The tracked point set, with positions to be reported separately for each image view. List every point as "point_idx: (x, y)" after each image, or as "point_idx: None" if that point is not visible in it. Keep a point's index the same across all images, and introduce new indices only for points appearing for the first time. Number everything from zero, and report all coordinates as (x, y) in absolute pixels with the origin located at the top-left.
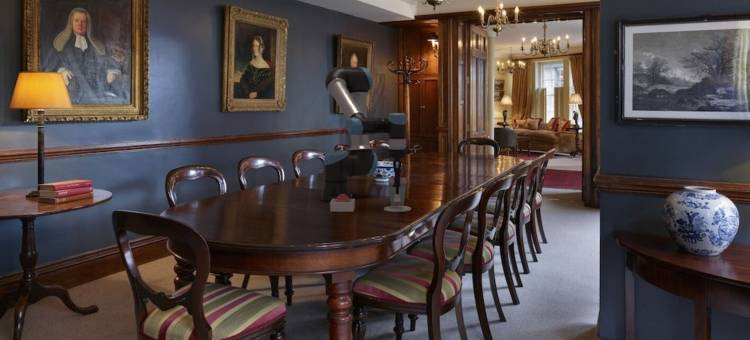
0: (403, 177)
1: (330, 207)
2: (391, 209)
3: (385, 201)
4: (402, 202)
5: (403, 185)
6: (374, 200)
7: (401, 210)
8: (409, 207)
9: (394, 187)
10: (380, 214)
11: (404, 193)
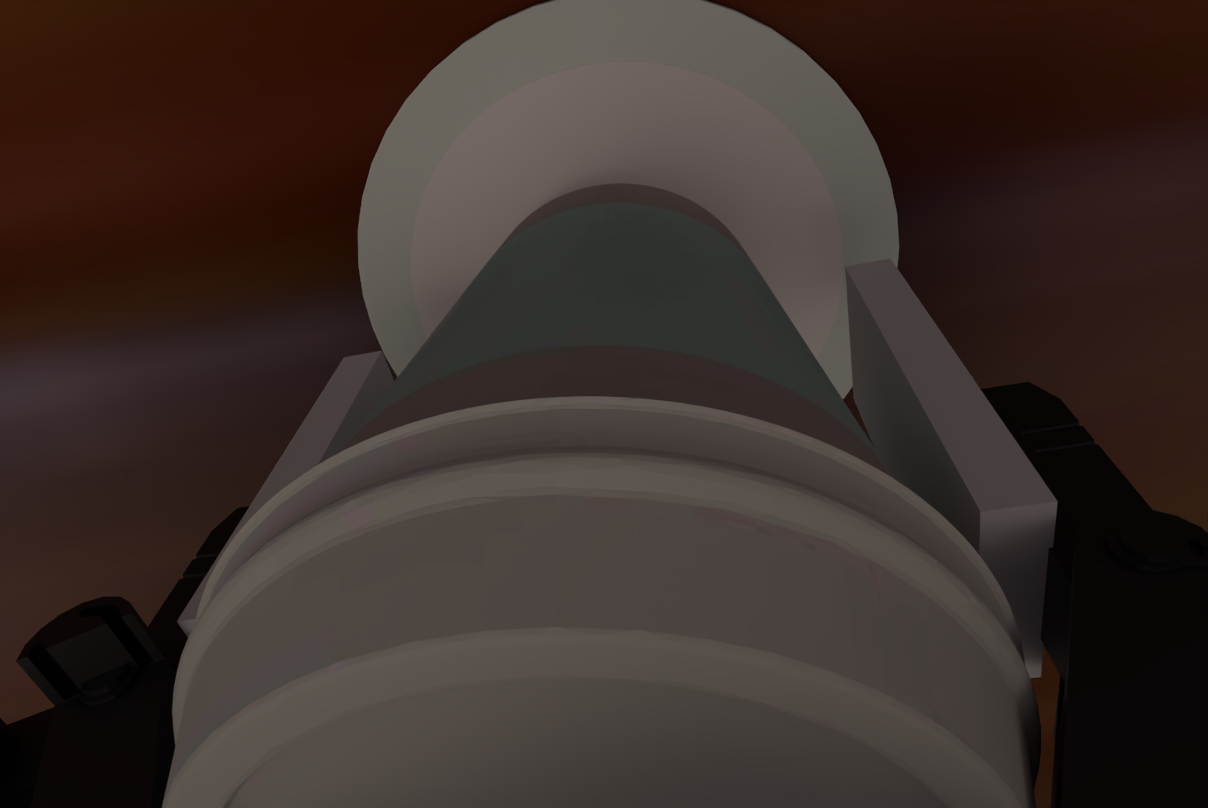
0: (229, 765)
1: None
2: None
3: (11, 574)
4: (708, 221)
5: (832, 440)
6: (33, 698)
7: (866, 160)
8: (483, 54)
9: (1035, 647)
10: (1127, 448)
11: (674, 267)
